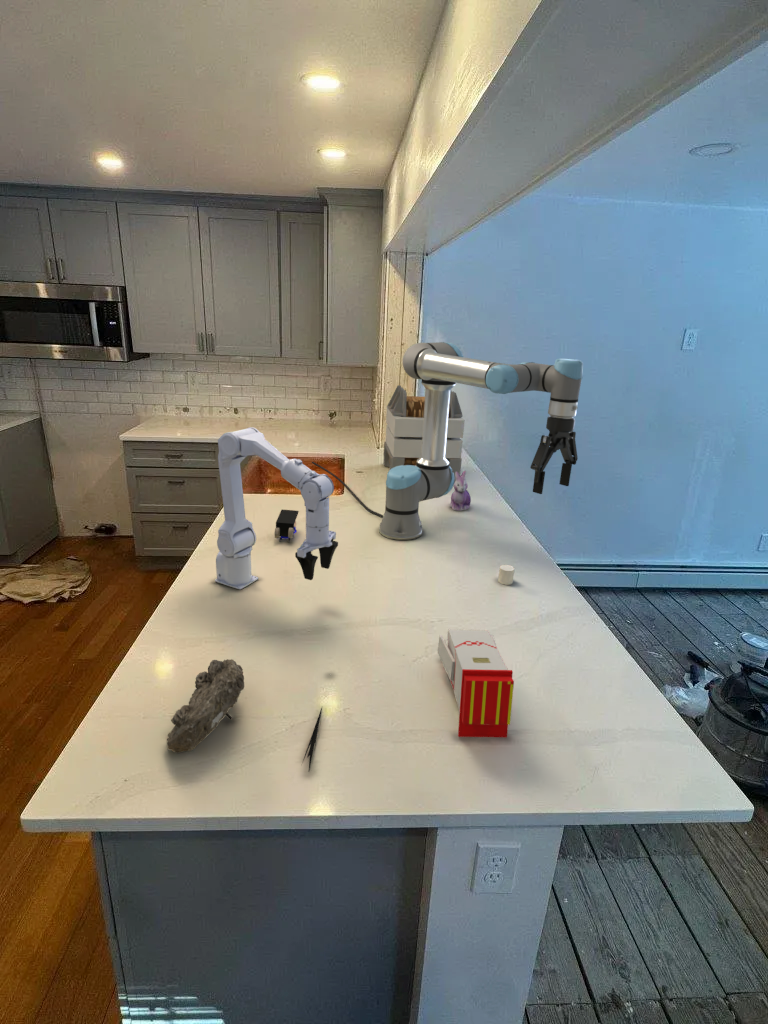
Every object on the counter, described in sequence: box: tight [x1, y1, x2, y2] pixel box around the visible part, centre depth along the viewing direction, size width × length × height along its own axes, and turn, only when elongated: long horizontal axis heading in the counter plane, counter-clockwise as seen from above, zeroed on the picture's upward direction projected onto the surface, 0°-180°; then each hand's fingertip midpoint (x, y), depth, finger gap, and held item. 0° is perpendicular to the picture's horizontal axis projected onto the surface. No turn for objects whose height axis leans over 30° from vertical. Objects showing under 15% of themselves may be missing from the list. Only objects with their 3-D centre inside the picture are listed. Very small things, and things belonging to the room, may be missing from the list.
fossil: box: [166, 658, 245, 754], centre depth 106 cm, size 22×10×15 cm
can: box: [497, 564, 515, 586], centre depth 167 cm, size 4×4×4 cm
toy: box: [437, 628, 515, 738], centre depth 117 cm, size 12×13×30 cm
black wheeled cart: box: [273, 509, 300, 543], centre depth 192 cm, size 7×8×15 cm
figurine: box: [449, 470, 472, 511], centre depth 227 cm, size 9×10×15 cm
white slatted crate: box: [383, 384, 465, 483], centre depth 268 cm, size 34×33×41 cm
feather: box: [301, 673, 332, 771], centre depth 108 cm, size 2×28×2 cm
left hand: (317, 573), depth 146 cm, fingers open, 7 cm apart
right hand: (550, 488), depth 166 cm, fingers open, 13 cm apart
